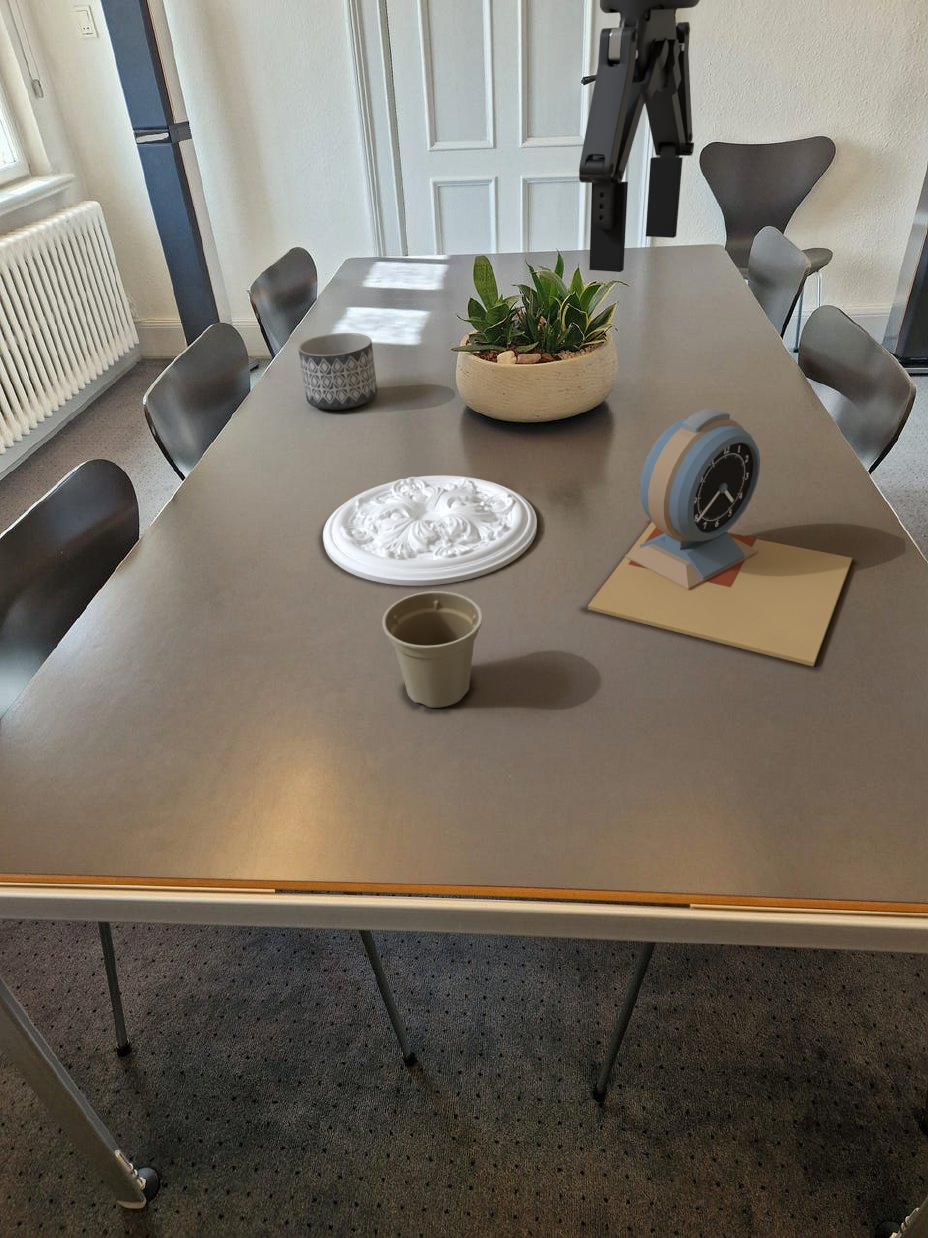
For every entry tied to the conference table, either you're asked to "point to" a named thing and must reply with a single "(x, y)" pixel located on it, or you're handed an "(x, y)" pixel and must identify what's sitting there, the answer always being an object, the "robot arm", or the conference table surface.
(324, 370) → the planter
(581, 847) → the conference table surface
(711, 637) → the mat
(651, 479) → the alarm clock
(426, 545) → the ceiling medallion
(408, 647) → the flower pot
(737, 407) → the conference table surface
